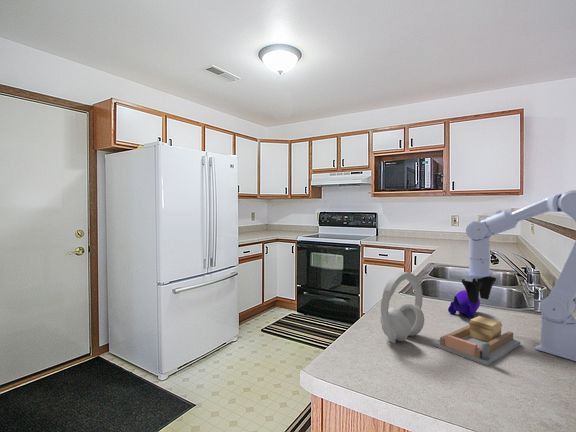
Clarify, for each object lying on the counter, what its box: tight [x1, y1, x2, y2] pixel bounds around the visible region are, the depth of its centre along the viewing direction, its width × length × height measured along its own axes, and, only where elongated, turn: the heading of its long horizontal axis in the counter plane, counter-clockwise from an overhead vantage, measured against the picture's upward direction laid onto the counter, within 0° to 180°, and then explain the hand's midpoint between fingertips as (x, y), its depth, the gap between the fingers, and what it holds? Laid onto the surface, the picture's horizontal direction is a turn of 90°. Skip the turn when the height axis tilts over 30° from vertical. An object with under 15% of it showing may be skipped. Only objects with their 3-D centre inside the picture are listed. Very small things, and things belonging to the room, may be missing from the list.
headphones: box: [379, 271, 425, 344], centre depth 96 cm, size 19×8×20 cm, turn 127°
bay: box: [433, 324, 521, 367], centre depth 91 cm, size 14×21×5 cm, turn 125°
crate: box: [468, 315, 503, 342], centre depth 94 cm, size 6×6×5 cm
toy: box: [447, 289, 481, 319], centre depth 117 cm, size 9×10×15 cm
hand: (479, 300), depth 102 cm, fingers open, 7 cm apart
